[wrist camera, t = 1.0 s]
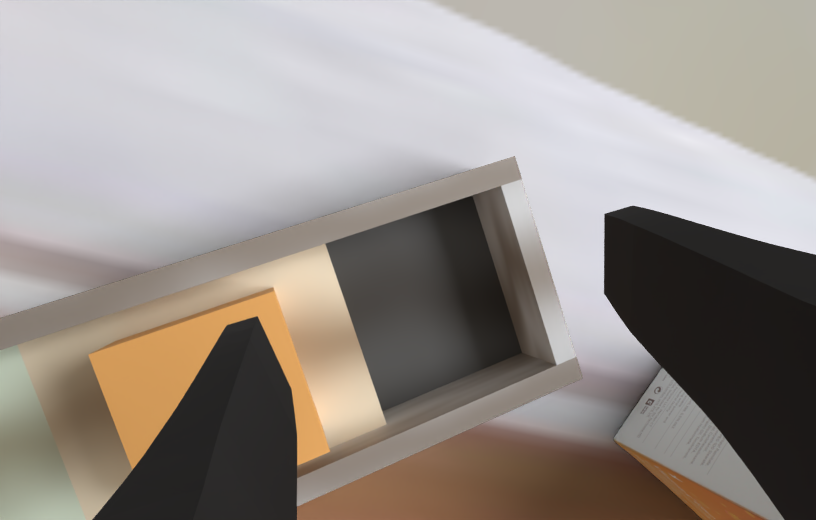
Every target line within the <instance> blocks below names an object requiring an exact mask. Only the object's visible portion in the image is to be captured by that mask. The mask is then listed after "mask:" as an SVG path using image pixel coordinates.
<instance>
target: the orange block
mask: <svg viewBox="0 0 816 520" xmlns="http://www.w3.org/2000/svg"><path fill="white" fill-rule="evenodd" d="M256 316H258V318H259V320H260V322H261V325H262V327H263V329H264V331H265V333H266V335H267V337H268V340H269V342H270V344H271V346H272V348H273V350H274V352H275V355H276V357H277V359H278V361H279V363H280V365H281V368H282V370H283V372H284V374H285V376H286V378H287V380H288V383H289V385H290V387H291V389H292V397H293V404H294V412H295V420H296V429H297V466H298V465H300V464H303V463H305V462H307V461H310V460H312V459H314V458H317V457H319V456H321V455H324V454H326V453H328V452H330V449H329V446H328V443H327V440H326V436H325V433H324V430H323V427H322V424H321V421H320V418H319V415H318V412H317V410H316V407H315V404H314V401H313V398H312V395H311V393H310V390H309V387H308V384H307V381H306V378H305V375H304V373H303V370H302V367H301V364H300V361H299V358H298V356H297V353H296V350H295V347H294V344H293V341H292V338H291V336H290V333H289V330H288V327H287V324H286V321H285V318H284V316H283V313H282V310H281V307H280V304H279V301H278V299H277V296H276V293H275V290H274V287H272V288H269V289H266V290H264V291H261V292H258V293H255V294H252V295H249V296H246V297H243V298H240V299H237V300H234V301H231V302H228V303H225V304H222V305H219V306H217V307H214V308H211V309H208V310H205V311H202V312H199V313H196V314H193V315H190V316H187V317H184V318H181V319H178V320H175V321H173V322H170V323H167V324H164V325H161V326H158V327H155V328H152V329H149V330H146V331H143V332H140V333H137V334H134V335H131V336H128V337H126V338H123V339H120V340H117V341H114V342H112V343H110V344H108V345H106V346H104V347H103V348H101V349H99V350H97V351H95V352H93V353H91V354H89V355H88V356H89V358H90V361H91V363H92V366H93V369H94V371H95V374H96V376H97V379H98V382H99V384H100V387H101V390H102V392H103V395H104V397H105V400H106V403H107V405H108V408H109V410H110V413H111V416H112V418H113V421H114V423H115V426H116V429H117V431H118V434H119V436H120V439H121V442H122V444H123V447H124V449H125V452H126V455H127V457H128V460H129V462H130V465H131V468H132V470H133V469H134V467H135V466H136V465H137V463H138V462H139V461H140V459H141V458H142V457H143V455H144V454H145V453H146V451H147V450H148V448H149V447H150V445H151V444H152V442H153V441H154V439H155V438H156V437H157V435H158V434H159V432H160V431H161V429H162V428H163V426H164V425H165V423H166V422H167V421H168V419H169V418H170V416H171V415H172V413H173V412H174V410H175V409H176V408H177V406H178V404H179V403H180V401H181V400H182V398H183V396H184V395H185V393H186V391H187V390H188V388H189V387H190V385H191V383H192V382H193V380H194V379H195V377H196V375H197V374H198V372H199V370H200V369H201V367H202V365H203V364H204V362H205V360H206V359H207V357H208V355H209V353H210V352H211V350H212V348H213V347H214V345H215V343H216V342H217V340H218V338H219V337H220V335H221V333H222V332H223V330H224V329H225V327H226V325H229V324H232V323H236V322H239V321H242V320H246V319H249V318H253V317H256Z"/></svg>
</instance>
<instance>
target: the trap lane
mask: <svg viewBox="0 0 816 520" xmlns="http://www.w3.org/2000/svg"><path fill="white" fill-rule="evenodd" d="M272 287H274V290H275V293H276V296H277V299H278V301H279V304H280V307H281V310H282V313H283V316H284V318H285V321H286V324H287V327H288V330H289V333H290V336H291V338H292V341H293V344H294V347H295V350H296V353H297V356H298V358H299V361H300V364H301V367H302V370H303V373H304V375H305V378H306V381H307V384H308V387H309V390H310V393H311V395H312V398H313V401H314V404H315V407H316V410H317V412H318V415H319V418H320V421H321V424H322V427H323V430H324V433H325V436H326V440H327V443H328V446H329V449H330V452H328V453H326V454H324V455H321V456H319V457H317V458H314V459H312V460H310V461H307V462H305V463H303V464H300V465H298V466H297V506H299V505H302V504H304V503H306V502H308V501H310V500H313V499H315V498H317V497H319V496H322V495H324V494H326V493H328V492H331V491H333V490H335V489H337V488H339V487H342V486H344V485H346V484H348V483H351V482H353V481H355V480H357V479H359V478H362V477H364V476H366V475H368V474H371V473H373V472H375V471H377V470H380V469H382V468H384V467H386V466H388V465H391V464H393V463H395V462H397V461H400V460H402V459H404V458H406V457H409V456H411V455H413V454H415V453H417V452H420V451H422V450H424V449H426V448H429V447H431V446H433V445H435V444H438V443H440V442H442V441H444V440H446V439H449V438H451V437H453V436H455V435H458V434H460V433H462V432H464V431H467V430H469V429H471V428H473V427H475V426H478V425H480V424H482V423H484V422H487V421H489V420H491V419H493V418H496V417H498V416H500V415H502V414H504V413H507V412H509V411H511V410H513V409H516V408H518V407H520V406H522V405H524V404H527V403H529V402H531V401H533V400H536V399H538V398H540V397H542V396H545V395H547V394H549V393H551V392H553V391H556V390H558V389H560V388H562V387H565V386H567V385H569V384H571V383H574V382H576V381H578V380H580V379H582V378H583V377H582V373H581V370H580V367H579V364H578V360H577V357H576V354H575V351H574V347H573V344H572V341H571V338H570V334H569V331H568V328H567V325H566V321H565V318H564V315H563V311H562V308H561V305H560V302H559V298H558V295H557V292H556V289H555V285H554V282H553V279H552V276H551V272H550V269H549V266H548V263H547V259H546V256H545V253H544V250H543V246H542V243H541V240H540V237H539V233H538V230H537V227H536V224H535V220H534V217H533V214H532V210H531V207H530V204H529V201H528V197H527V194H526V191H525V188H524V184H523V181H522V178H521V175H520V171H519V168H518V165H517V162H516V158H515V156H514V157H510V158H507V159H504V160H501V161H498V162H495V163H491V164H488V165H485V166H482V167H479V168H476V169H472V170H469V171H466V172H463V173H460V174H456V175H453V176H450V177H447V178H444V179H441V180H437V181H434V182H431V183H428V184H425V185H422V186H418V187H415V188H412V189H409V190H406V191H402V192H399V193H396V194H393V195H390V196H387V197H383V198H380V199H377V200H374V201H371V202H368V203H364V204H361V205H358V206H355V207H352V208H349V209H345V210H342V211H339V212H336V213H333V214H329V215H326V216H323V217H320V218H317V219H314V220H310V221H307V222H304V223H301V224H298V225H295V226H291V227H288V228H285V229H282V230H279V231H275V232H272V233H269V234H266V235H263V236H260V237H256V238H253V239H250V240H247V241H244V242H241V243H237V244H234V245H231V246H228V247H225V248H222V249H218V250H215V251H212V252H209V253H206V254H202V255H199V256H196V257H193V258H190V259H187V260H183V261H180V262H177V263H174V264H171V265H168V266H164V267H161V268H158V269H155V270H152V271H148V272H145V273H142V274H139V275H136V276H133V277H129V278H126V279H123V280H120V281H117V282H114V283H110V284H107V285H104V286H101V287H98V288H95V289H91V290H88V291H85V292H82V293H79V294H75V295H72V296H69V297H66V298H63V299H60V300H56V301H53V302H50V303H47V304H44V305H41V306H37V307H34V308H31V309H28V310H25V311H21V312H18V313H15V314H12V315H9V316H6V317H2V318H0V520H92V519H93V518H94V517H95V516H96V514H97V513H98V512H99V511H100V510H101V509H102V507H103V506H104V505H105V504H106V502H107V501H108V500H109V499H110V498H111V496H112V495H113V494H114V493H115V491H116V490H117V489H118V488H119V487H120V485H121V484H122V483H123V482H124V480H125V479H126V478H127V476H128V475H129V474H130V473H131V471H132V468H131V465H130V462H129V460H128V457H127V455H126V452H125V449H124V447H123V444H122V442H121V439H120V436H119V434H118V431H117V429H116V426H115V423H114V421H113V418H112V416H111V413H110V410H109V408H108V405H107V403H106V400H105V397H104V395H103V392H102V390H101V387H100V384H99V382H98V379H97V376H96V374H95V371H94V369H93V366H92V363H91V361H90V358H89V356H88V355H89V354H91V353H93V352H95V351H97V350H99V349H101V348H103V347H104V346H106V345H108V344H110V343H112V342H114V341H117V340H120V339H123V338H126V337H128V336H131V335H134V334H137V333H140V332H143V331H146V330H149V329H152V328H155V327H158V326H161V325H164V324H167V323H170V322H173V321H175V320H178V319H181V318H184V317H187V316H190V315H193V314H196V313H199V312H202V311H205V310H208V309H211V308H214V307H217V306H219V305H222V304H225V303H228V302H231V301H234V300H237V299H240V298H243V297H246V296H249V295H252V294H255V293H258V292H261V291H264V290H266V289H269V288H272Z"/></svg>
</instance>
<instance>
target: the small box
mask: <svg viewBox="0 0 816 520" xmlns="http://www.w3.org/2000/svg"><path fill="white" fill-rule="evenodd" d="M614 441H615V442H616V443H617V444H618V445H619V446H621V447H622V448H623V449H624V450H626V451H627V452H628V453H629V454H630V455H632V456H633V457H634V458H635V459H636V460H638V461H639V462H640V463H641V464H642V465H643V466H644V467H645V468H647V469H648V470H649V471H650V472H651V473H652V474H653V475H654V476H656V477H657V478H658V479H659V480H660V481H661V482H662V483H664V484H665V485H666V486H667V487H668V488H669V489H670V490H671V491H672V492H673V493H674V494H676V495H677V496H678V497H679V498H680V499H681V500H682V501H683V502H684V503H685V504H686V505H687V506H689V507H690V508H691V509H692V510H693V511H694V512H695V513H696V514H697V515H698V516H699V517H700V518H701V519H703V520H784V519H783V517H782V516H781V514H780V513H779V511H778V510H777V509H776V507H775V506H774V504H773V503H772V502H771V500H770V499H769V497H768V496H767V494H766V493H765V492H764V490H763V489H762V487H761V486H760V485H759V483H758V482H757V480H756V479H755V477H754V476H753V475H752V473H751V472H750V471H749V469H748V468H747V467H746V465H745V464H744V463H743V461H742V460H741V459H740V457H739V456H738V455H737V453H736V452H735V451H734V449H733V448H732V447H731V445H730V444H729V443H728V441H727V440H726V439H725V437H724V436H723V435H722V433H721V432H720V431H719V430H718V428H717V427H716V426H715V425H714V424H713V423H712V421H711V420H710V419H709V418H708V417H707V415H706V414H705V413H704V412H703V411H702V410H701V409H700V408H699V407H698V405H697V404H696V403H695V402H694V401H693V400H692V399H691V398H690V397H689V396H688V395H687V393H686V392H685V391H684V390H683V389H682V388H681V387H680V386H679V385H678V384H677V383H676V381H675V380H674V379H673V378H672V377H671V376H670V375H669V374H668V373H667V372H666V371H665V370H664V368H663V367H662V369H661V370H660V371H659V373H658V374H657V376H656V377H655V379H654V380H653V382H652V383H651V384H650V386H649V387H648V389H647V390H646V392H645V393H644V395H643V396H642V397H641V399H640V400H639V402H638V403H637V405H636V406H635V407H634V409H633V410H632V412H631V413H630V415H629V416H628V418H627V419H626V421H625V422H624V424H623V425H622V427H621V428H620V430H619V431H618V432H617V434H616V435H615V437H614Z"/></svg>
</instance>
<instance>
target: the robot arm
mask: <svg viewBox="0 0 816 520" xmlns="http://www.w3.org/2000/svg"><path fill="white" fill-rule="evenodd" d="M604 294H605V295H606V297H607V298H608V300H609V301H610V303H611V304H612V306H613V308H614V309H615V311H616V312H617V314H618V315H619V316H620V318H621V319H622V321H623V322H624V324H625V325H626V326H627V328H628V329H629V331H630V332H631V333H632V334H633V335H634V336H635V338H636V339H637V340H638V341H639V342H640V343H641V344H642V345H643V346H644V348H645V349H646V350H647V351H648V352H649V353H650V354H651V355H652V356H653V358H654V359H655V360H656V361H657V362H658V363H659V364H660V365H661V366H662V367H663V368H664V370H665V371H666V372H667V373H668V374H669V375H670V376H671V377H672V378H673V379H674V380H675V381H676V383H677V384H678V385H679V386H680V387H681V388H682V389H683V390H684V391H685V392H686V393H687V395H688V396H689V397H690V398H691V399H692V400H693V401H694V402H695V403H696V404H697V405H698V407H699V408H700V409H701V410H702V411H703V412H704V413H705V414H706V415H707V417H708V418H709V419H710V420H711V421H712V423H713V424H714V425H715V426H716V427H717V428H718V430H719V431H720V432H721V433H722V435H723V436H724V437H725V439H726V440H727V441H728V443H729V444H730V445H731V447H732V448H733V449H734V451H735V452H736V453H737V455H738V456H739V457H740V459H741V460H742V461H743V463H744V464H745V465H746V467H747V468H748V469H749V471H750V472H751V473H752V475H753V476H754V477H755V479H756V480H757V482H758V483H759V485H760V486H761V487H762V489H763V490H764V492H765V493H766V494H767V496H768V497H769V499H770V500H771V502H772V503H773V504H774V506H775V507H776V509H777V510H778V511H779V513H780V514H781V516H782V517H783V519H784V520H816V255H814V254H810V253H806V252H801V251H797V250H793V249H789V248H785V247H781V246H777V245H773V244H769V243H765V242H761V241H758V240H754V239H750V238H747V237H743V236H740V235H736V234H733V233H729V232H726V231H722V230H719V229H715V228H712V227H709V226H705V225H702V224H699V223H695V222H692V221H688V220H685V219H682V218H678V217H675V216H672V215H668V214H664V213H661V212H657V211H654V210H650V209H646V208H641V207H636V206H630V207H627V208H623V209H620V210H616V211H613V212H610V213H606V214H605V239H604ZM92 520H297V429H296V420H295V412H294V404H293V397H292V389H291V387H290V385H289V383H288V380H287V378H286V376H285V374H284V372H283V370H282V368H281V365H280V363H279V361H278V359H277V357H276V355H275V352H274V350H273V348H272V346H271V344H270V342H269V340H268V337H267V335H266V333H265V331H264V329H263V327H262V325H261V322H260V320H259V318H258V316H256V317H253V318H249V319H246V320H242V321H239V322H236V323H232V324H229V325H226V327H225V329H224V330H223V332H222V333H221V335H220V337H219V338H218V340H217V342H216V343H215V345H214V347H213V348H212V350H211V352H210V353H209V355H208V357H207V359H206V360H205V362H204V364H203V365H202V367H201V369H200V370H199V372H198V374H197V375H196V377H195V379H194V380H193V382H192V383H191V385H190V387H189V388H188V390H187V391H186V393H185V395H184V396H183V398H182V400H181V401H180V403H179V404H178V406H177V408H176V409H175V410H174V412H173V413H172V415H171V416H170V418H169V419H168V421H167V422H166V423H165V425H164V426H163V428H162V429H161V431H160V432H159V434H158V435H157V437H156V438H155V439H154V441H153V442H152V444H151V445H150V447H149V448H148V450H147V451H146V453H145V454H144V455H143V457H142V458H141V459H140V461H139V462H138V463H137V465H136V466H135V467H134V469H133V470H132V471H131V473H130V474H129V475H128V476H127V478H126V479H125V480H124V482H123V483H122V484H121V485H120V487H119V488H118V489H117V490H116V491H115V493H114V494H113V495H112V496H111V498H110V499H109V500H108V501H107V502H106V504H105V505H104V506H103V507H102V509H101V510H100V511H99V512H98V513H97V514H96V516H95V517H94V518H93V519H92Z"/></svg>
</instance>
